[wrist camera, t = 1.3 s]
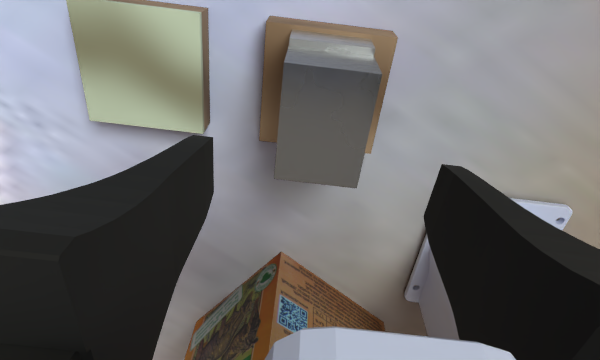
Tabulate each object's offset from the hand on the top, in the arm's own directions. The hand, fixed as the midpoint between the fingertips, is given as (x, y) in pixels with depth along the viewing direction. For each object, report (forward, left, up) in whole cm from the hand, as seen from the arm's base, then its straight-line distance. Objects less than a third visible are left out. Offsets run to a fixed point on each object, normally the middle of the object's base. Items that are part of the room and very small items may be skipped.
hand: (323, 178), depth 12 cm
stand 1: (0, +9, -10) cm, 13 cm away
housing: (0, 0, -8) cm, 8 cm away
